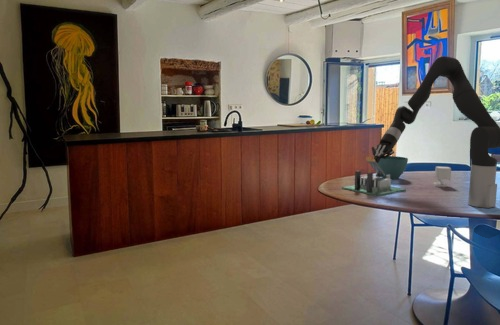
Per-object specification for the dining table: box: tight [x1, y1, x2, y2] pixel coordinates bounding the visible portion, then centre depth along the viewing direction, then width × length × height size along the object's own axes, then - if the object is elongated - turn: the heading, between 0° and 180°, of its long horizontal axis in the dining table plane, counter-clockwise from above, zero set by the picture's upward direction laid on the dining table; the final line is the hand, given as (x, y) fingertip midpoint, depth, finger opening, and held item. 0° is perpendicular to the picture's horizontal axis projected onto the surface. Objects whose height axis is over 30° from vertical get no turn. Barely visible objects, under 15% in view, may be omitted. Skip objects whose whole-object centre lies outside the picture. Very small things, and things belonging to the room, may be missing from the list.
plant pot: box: [378, 155, 409, 180], centre depth 231 cm, size 18×18×12 cm
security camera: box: [432, 166, 452, 188], centre depth 208 cm, size 6×7×10 cm
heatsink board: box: [341, 170, 407, 197], centre depth 198 cm, size 22×22×10 cm
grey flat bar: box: [365, 156, 386, 178], centre depth 198 cm, size 5×1×16 cm
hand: (374, 163), depth 197 cm, fingers closed
